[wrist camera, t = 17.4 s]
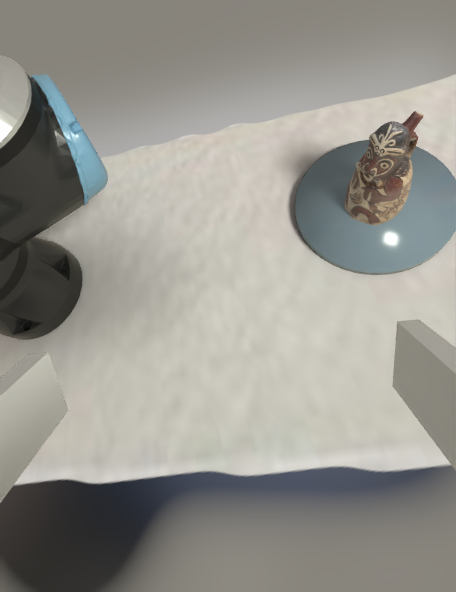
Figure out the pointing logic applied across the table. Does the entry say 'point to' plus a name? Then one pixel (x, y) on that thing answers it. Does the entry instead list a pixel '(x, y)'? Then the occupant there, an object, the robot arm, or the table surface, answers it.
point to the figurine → (383, 173)
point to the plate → (384, 237)
